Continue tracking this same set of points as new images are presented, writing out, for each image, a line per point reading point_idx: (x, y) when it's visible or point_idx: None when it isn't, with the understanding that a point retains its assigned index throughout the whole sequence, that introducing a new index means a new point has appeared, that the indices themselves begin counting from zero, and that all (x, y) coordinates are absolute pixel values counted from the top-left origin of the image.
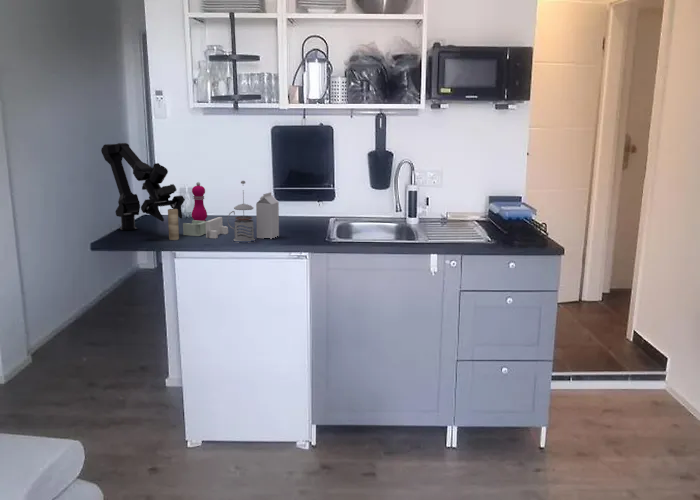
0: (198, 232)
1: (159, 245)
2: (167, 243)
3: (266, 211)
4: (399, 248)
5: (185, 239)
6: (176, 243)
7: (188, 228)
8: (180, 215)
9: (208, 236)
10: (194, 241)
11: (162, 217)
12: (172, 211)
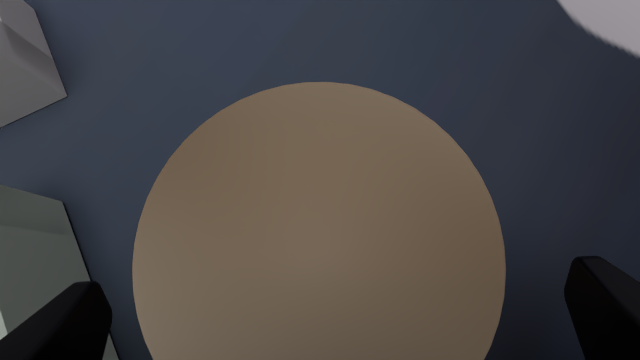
0: (38, 200)
1: (633, 100)
2: (516, 129)
3: None
4: None
5: None
6: (445, 68)
7: None
8: (73, 331)
9: (49, 66)
10: (259, 32)
11: (630, 289)
12: (414, 128)
